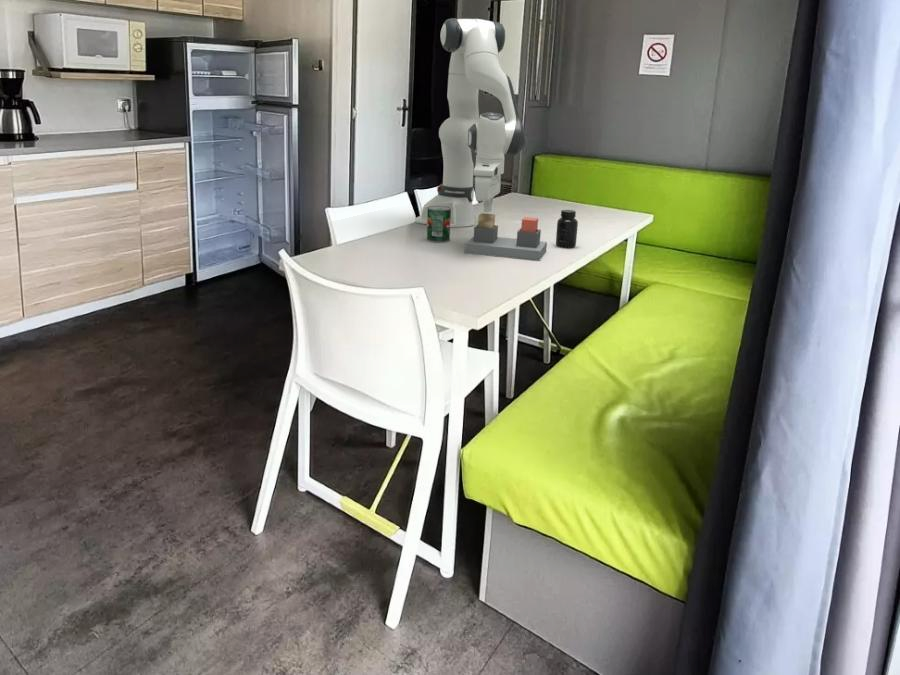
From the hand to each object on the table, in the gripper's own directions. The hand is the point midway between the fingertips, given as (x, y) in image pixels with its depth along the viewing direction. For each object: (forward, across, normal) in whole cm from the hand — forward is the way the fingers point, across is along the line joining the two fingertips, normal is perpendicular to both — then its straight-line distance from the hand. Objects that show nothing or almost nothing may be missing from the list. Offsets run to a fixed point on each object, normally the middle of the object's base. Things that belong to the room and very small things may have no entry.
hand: (487, 211), depth 228 cm
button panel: (+12, 0, +7) cm, 14 cm away
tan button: (+5, 0, 0) cm, 5 cm away
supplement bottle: (+13, -17, +24) cm, 32 cm away
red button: (+5, 0, +14) cm, 15 cm away
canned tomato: (+12, -7, -18) cm, 23 cm away
